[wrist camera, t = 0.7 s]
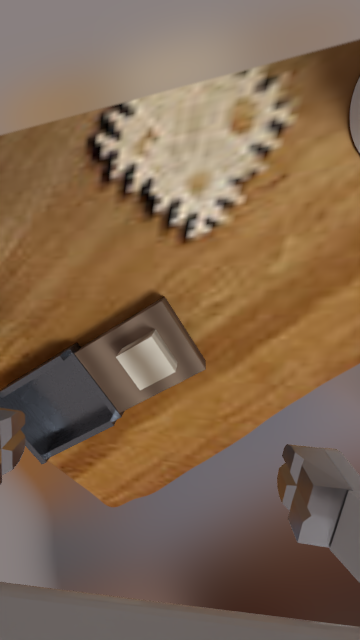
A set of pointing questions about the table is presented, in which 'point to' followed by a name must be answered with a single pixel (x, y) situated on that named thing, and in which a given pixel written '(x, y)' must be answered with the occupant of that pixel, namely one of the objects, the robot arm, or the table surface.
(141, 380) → the block
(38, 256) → the table surface
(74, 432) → the box
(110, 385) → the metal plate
